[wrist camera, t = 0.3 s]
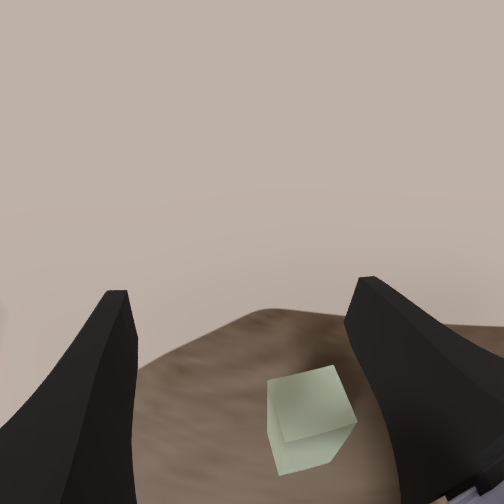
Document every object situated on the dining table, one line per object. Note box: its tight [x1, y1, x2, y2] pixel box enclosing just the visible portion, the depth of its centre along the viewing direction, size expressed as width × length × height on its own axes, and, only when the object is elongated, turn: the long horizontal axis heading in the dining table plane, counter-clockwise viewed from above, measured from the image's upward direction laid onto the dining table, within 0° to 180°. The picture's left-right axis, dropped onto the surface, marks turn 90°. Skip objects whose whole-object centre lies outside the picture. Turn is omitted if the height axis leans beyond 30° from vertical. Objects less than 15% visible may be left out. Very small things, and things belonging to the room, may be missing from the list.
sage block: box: [267, 365, 358, 476], centre depth 21 cm, size 4×4×10 cm
